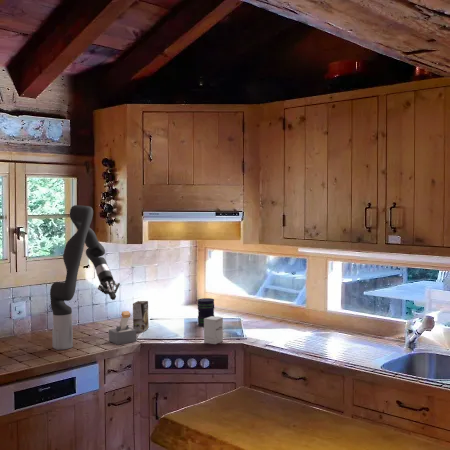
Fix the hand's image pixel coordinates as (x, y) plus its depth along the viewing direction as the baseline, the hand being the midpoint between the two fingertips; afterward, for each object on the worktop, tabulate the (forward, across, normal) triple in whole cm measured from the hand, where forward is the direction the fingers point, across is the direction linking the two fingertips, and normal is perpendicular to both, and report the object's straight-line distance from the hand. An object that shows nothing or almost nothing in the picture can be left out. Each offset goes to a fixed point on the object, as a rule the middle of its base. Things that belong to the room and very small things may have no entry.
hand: (113, 298), depth 300 cm
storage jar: (+20, +55, +10) cm, 59 cm away
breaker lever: (+17, 0, +3) cm, 17 cm away
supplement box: (+44, +36, -14) cm, 59 cm away
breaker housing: (+22, 0, +8) cm, 23 cm away
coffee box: (+10, +19, +20) cm, 29 cm away
